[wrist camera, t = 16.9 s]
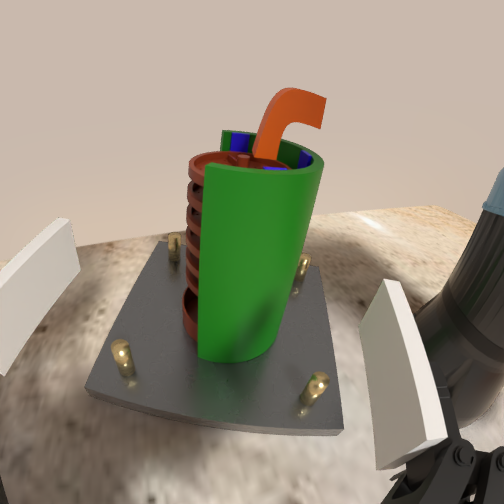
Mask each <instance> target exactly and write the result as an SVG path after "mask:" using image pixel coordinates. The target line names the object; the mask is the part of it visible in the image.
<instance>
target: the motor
mask: <svg viewBox="0 0 504 504" xmlns="http://www.w3.org/2000/svg"><path fill="white" fill-rule="evenodd" d="M325 104H326V98H324V97H322V96H319V95H317V94H314V93H311V92H308V91H305V90H300V89H297V88H285V89H282V90H280V91H279V92H278V93H276V95H275V96H274V97H273V98H272V100H271V101H270V103H269V105H268V107H267V109H266V111H265V113H264V116H263V119H262V121H261V124H260V127H259V129H258V132H257V133H250V132H242V131H230V130H222V137H221V146H220V151H216V152H208V153H203V154H200V155H197V156H195V157H193V158H192V159H191V160H190V161H189V172H188V174H189V177H190V178H191V179H192V181H191V182H190V183H189V184H188V190H187V191H188V192H187V199H188V202H189V205H188V207H187V217H186V220H187V224H188V226H187V229H186V244H187V247H186V281H187V284H188V286H187V288H186V289H185V291H184V293H183V297H182V312H183V324H184V327H185V329H186V331H187V333H188V334H189V335H190V336H191V337H192V338H193V339H194V340H195V341H196V342H198V357H199V358H202V359H205V360H208V361H212V362H217V363H239V362H244V361H247V360H250V359H253V358H255V357H257V356H259V355H261V354H262V353H264V352H265V351H266V350H267V349H268V348H269V347H270V346H271V345H272V344H273V342H274V341H275V339H276V336H277V334H278V330H279V327H280V324H281V321H282V318H283V314H284V311H285V308H286V304H287V301H288V298H289V294H290V291H291V288H292V284H293V281H294V277H295V274H296V270H297V267H298V263H299V260H300V256H301V253H302V249H303V245H304V242H305V238H306V234H307V230H308V227H309V223H310V219H311V215H312V211H313V207H314V203H315V199H316V195H317V191H318V187H319V184H320V179H321V175H322V171H323V167H324V161H323V159H322V158H321V157H320V156H319V155H317V154H316V153H315V152H313V151H311V150H310V149H308V148H306V147H303V146H301V145H299V144H296V143H293V142H290V141H287V140H284V139H281V137H282V134H283V131H284V130H285V128H286V126H287V125H289V124H290V123H292V122H300V123H304V124H307V125H310V126H313V127H316V128H318V129H320V128H321V124H322V119H323V114H324V109H325Z"/></svg>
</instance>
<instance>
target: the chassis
mask: <svg viewBox="0 0 504 504" xmlns="http://www.w3.org/2000/svg"><path fill="white" fill-rule="evenodd" d="M186 247H187V246H186V245H181V234H180V233H178V232H171V233H169V234H168V242H162V241H159V242H158V244H157V246H156V247H155V249H154V251H153V252H152V254H151V256H150V258H149V259H148V261H147V263H146V265H145V266H144V268H143V270H142V272H141V274H140V275H139V277H138V279H137V281H136V283H135V284H134V286H133V288H132V290H131V292H130V294H129V295H128V297H127V299H126V301H125V303H124V305H123V307H122V309H121V311H120V313H119V315H118V317H117V318H116V320H115V322H114V324H113V326H112V328H111V330H110V332H109V335H108V337H107V339H106V341H105V343H104V345H103V347H102V349H101V351H100V353H99V355H98V358H97V360H96V362H95V364H94V366H93V369H92V371H91V373H90V375H89V378H88V380H87V382H86V384H85V389H86V391H87V392H88V394H89V395H90V396H92V397H95V398H97V399H100V400H103V401H106V402H109V403H112V404H115V405H119V406H122V407H125V408H129V409H132V410H136V411H139V412H143V413H147V414H150V415H154V416H158V417H163V418H167V419H171V420H176V421H181V422H186V423H191V424H196V425H201V426H207V427H213V428H220V429H227V430H234V431H243V432H252V433H263V434H276V435H296V436H337V435H338V434H339V433H340V432H341V431H343V430H344V424H343V415H342V407H341V399H340V391H339V383H338V376H337V369H336V362H335V356H334V349H333V343H332V337H331V331H330V325H329V319H328V313H327V308H326V302H325V297H324V291H323V286H322V281H321V276H320V271H319V267H316V266H310V265H309V264H310V261H311V256H310V255H309V254H307V253H301V256H300V260H299V263H298V267H297V270H296V274H295V277H294V281H293V284H292V288H291V291H290V294H289V298H288V301H287V304H286V308H285V311H284V314H283V318H282V321H281V324H280V327H279V330H278V334H277V336H276V339H275V341H274V342H273V344H272V345H271V346H270V347H269V348H268V349H267V350H266V351H265V352H264V353H262V354H261V355H259V356H257V357H255V358H253V359H250V360H247V361H244V362H239V363H217V362H212V361H208V360H205V359H202V358H199V357H198V342H196V341H195V340H194V339H193V338H192V337H191V336H190V335H189V334H188V333H187V331H186V329H185V327H184V324H183V312H182V297H183V293H184V291H185V289H186V288H187V286H188V284H187V281H186Z"/></svg>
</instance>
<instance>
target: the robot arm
mask: <svg viewBox="0 0 504 504" xmlns="http://www.w3.org/2000/svg"><path fill="white" fill-rule="evenodd" d="M482 208H483V212H482V214H481V216H480V219H479V221H478V223H477V225H476V227H475V229H474V232H473V234H472V236H471V238H470V240H469V242H468V244H467V246H466V248H465V250H464V252H463V254H462V256H461V257H460V259H459V261H458V263H457V265H456V266H455V268H454V270H453V272H452V273H451V275H450V277H449V279H448V281H447V282H446V284H445V286H444V287H443V289H442V290H441V292H440V293H439V294H437V295H436V296H435V297H434V298H433V299H431V300H430V301H429V302H428V303H426V304H425V305H424V306H423V307H421V308H420V309H419V310H418V311H417V312H416V313H414V314H412V312H411V309H410V306H409V304H408V301H407V299H406V296H405V294H404V291H403V289H402V286H401V284H400V282H398V281H393V280H388V279H383V281H382V283H381V285H380V287H379V289H378V291H377V293H376V295H375V297H374V298H373V300H372V302H371V304H370V306H369V308H368V310H367V312H366V313H365V315H364V317H363V319H362V321H361V322H360V324H359V326H358V327H359V333H360V338H361V344H362V350H363V356H364V362H365V368H366V375H367V382H368V389H369V396H370V404H371V413H372V422H373V432H374V444H375V457H376V470H386V469H394V468H397V467H399V466H401V465H403V464H405V463H406V470H404V471H402V472H400V473H398V474H396V475H394V476H393V477H392V478H391V479H390V480H391V481H393V480H395V479H397V478H398V480H397V481H396V482H395V484H394V486H393V487H392V489H391V490H390V491H389V493H388V494H387V496H386V497H385V498H384V500H383V501H382V502H381V504H504V446H500V447H498V448H497V449H495V450H493V451H492V452H490V453H488V452H482V451H477V450H475V449H474V447H473V445H472V444H471V443H470V442H469V441H467V440H465V439H462V438H461V435H460V432H459V429H460V428H463V427H466V426H468V425H470V424H471V423H473V422H474V421H475V420H477V419H478V418H479V417H480V416H482V415H483V414H484V413H485V412H486V411H487V410H488V409H489V408H490V407H491V405H492V404H493V402H494V400H495V399H496V397H497V396H498V394H499V392H500V391H501V389H502V387H503V385H504V168H503V169H502V170H501V171H500V172H499V174H498V176H497V178H496V181H495V183H494V185H493V188H492V190H491V192H490V194H489V196H488V199H487V201H485V202H484V203H483V206H482ZM80 271H81V268H80V264H79V260H78V255H77V251H76V246H75V241H74V236H73V231H72V226H71V221H70V220H69V219H64V218H59V217H58V218H57V219H56V220H54V221H53V222H52V223H51V224H50V225H49V226H47V227H46V228H45V229H44V230H43V231H42V232H41V233H39V234H38V235H37V236H36V237H35V238H34V239H33V240H32V241H31V242H29V243H28V244H27V245H26V246H25V247H24V248H23V249H22V250H21V251H20V252H19V253H18V254H17V255H16V256H15V257H14V258H13V259H12V260H10V261H9V262H8V263H7V264H6V265H5V267H4V268H3V269H2V270H1V271H0V374H2V375H3V376H5V375H6V373H7V371H8V370H9V368H10V367H11V365H12V363H13V362H14V360H15V359H16V357H17V355H18V354H19V352H20V351H21V349H22V348H23V346H24V345H25V343H26V342H27V340H28V339H29V337H30V336H31V335H32V333H33V332H34V330H35V329H36V327H37V326H38V325H39V323H40V322H41V320H42V319H43V318H44V316H45V315H46V314H47V312H48V311H49V310H50V308H51V307H52V306H53V304H54V303H55V302H56V300H57V299H58V298H59V297H60V295H61V294H62V293H63V291H64V290H65V289H66V288H67V286H68V285H69V284H70V283H71V281H72V280H73V279H74V278H75V277H76V275H77V274H78V273H79V272H80ZM475 493H476V494H475ZM473 494H475V498H474V501H472V502H470V496H471V495H473ZM0 504H9V503H8V500H7V497H6V494H5V491H4V487H3V484H2V480H1V477H0Z"/></svg>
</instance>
